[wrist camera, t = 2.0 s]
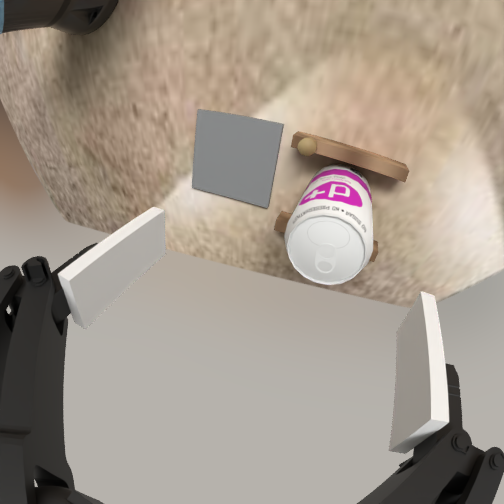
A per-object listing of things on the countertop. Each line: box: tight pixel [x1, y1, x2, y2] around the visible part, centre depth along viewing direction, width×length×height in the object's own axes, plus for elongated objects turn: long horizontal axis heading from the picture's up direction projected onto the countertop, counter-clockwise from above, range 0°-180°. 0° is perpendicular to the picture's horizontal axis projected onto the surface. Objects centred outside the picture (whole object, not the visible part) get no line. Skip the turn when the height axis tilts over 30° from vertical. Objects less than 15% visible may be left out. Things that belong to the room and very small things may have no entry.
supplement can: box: [284, 164, 373, 285], centre depth 31 cm, size 8×8×15 cm
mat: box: [192, 109, 284, 208], centre depth 39 cm, size 12×12×1 cm
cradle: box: [274, 131, 409, 262], centre depth 35 cm, size 14×13×4 cm
